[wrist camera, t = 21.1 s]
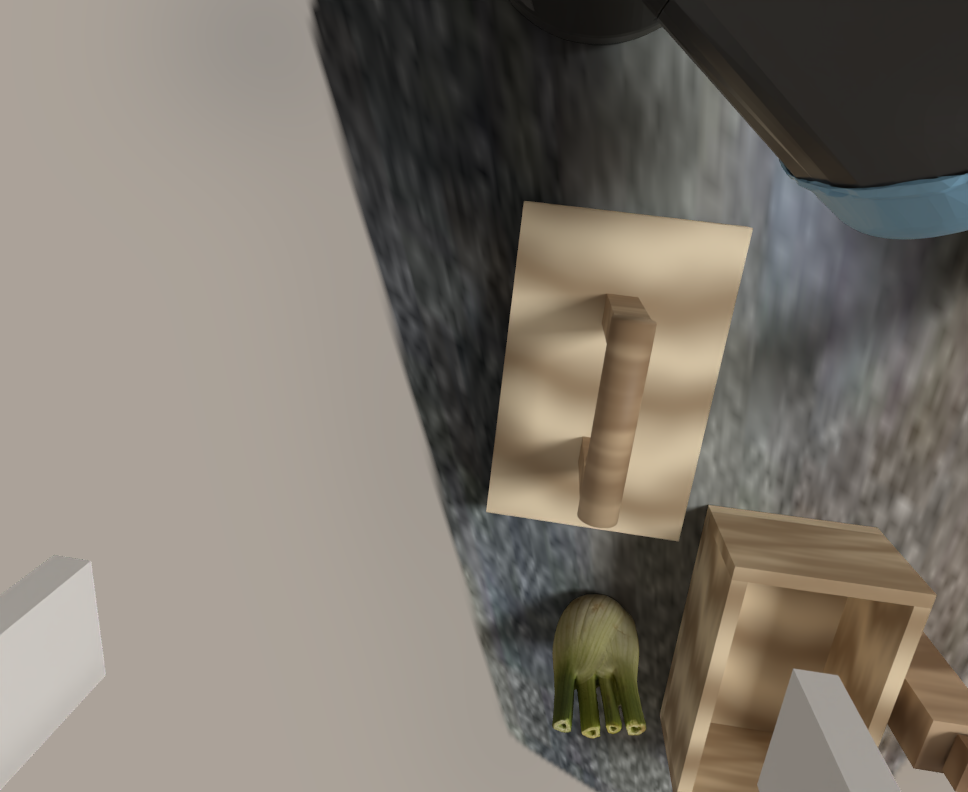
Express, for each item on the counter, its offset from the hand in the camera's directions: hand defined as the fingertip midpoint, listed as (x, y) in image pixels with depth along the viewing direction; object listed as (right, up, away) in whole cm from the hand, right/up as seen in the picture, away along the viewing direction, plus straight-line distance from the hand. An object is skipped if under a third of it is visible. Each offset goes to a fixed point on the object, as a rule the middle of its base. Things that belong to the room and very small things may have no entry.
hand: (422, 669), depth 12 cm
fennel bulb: (+10, -12, +40) cm, 43 cm away
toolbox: (+25, -13, +38) cm, 48 cm away
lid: (+10, +6, +33) cm, 35 cm away
